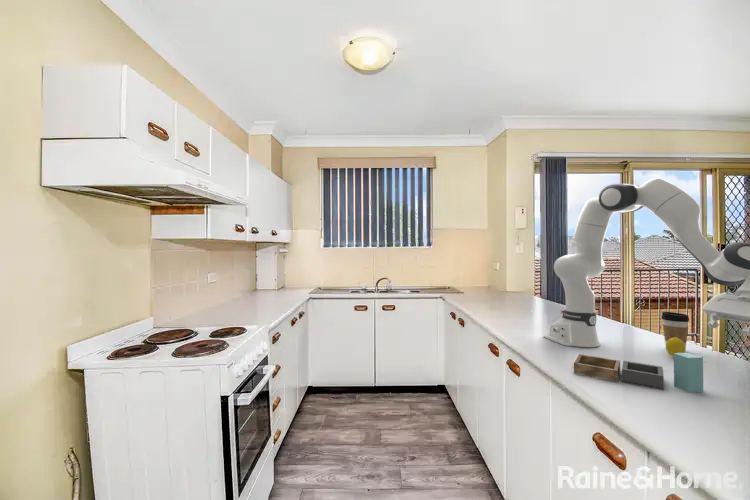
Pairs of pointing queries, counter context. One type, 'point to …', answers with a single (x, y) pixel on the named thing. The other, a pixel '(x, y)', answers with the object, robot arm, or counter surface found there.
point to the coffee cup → (675, 326)
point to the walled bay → (597, 367)
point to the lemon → (675, 346)
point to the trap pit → (643, 374)
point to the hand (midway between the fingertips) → (727, 330)
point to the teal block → (688, 372)
